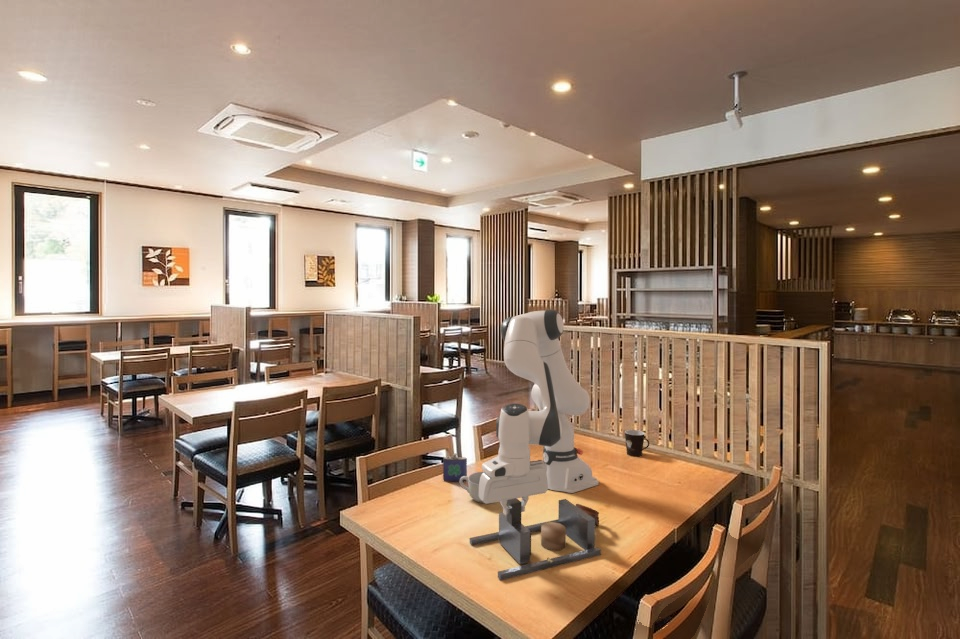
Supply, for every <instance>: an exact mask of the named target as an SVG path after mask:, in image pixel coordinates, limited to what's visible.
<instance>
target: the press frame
mask: <svg viewBox="0 0 960 639" xmlns="http://www.w3.org/2000/svg"><path fill="white" fill-rule="evenodd" d="M548 522H555V523H560V524H562V525H564V526H565V528H566V536H567V537H568V538H569V539H571V541H573V542H574V543H576V544H577V545H578V546H579V547H580V548H582V550H580V551H576V552H572V553H569V554H568V553H567V554H564V555H560V556H556V557H553V558H550V557H546V559H543V560H541V561H535V562H532V563H531V562H530V563H526V564H522V565H519V566H515V567H512V568H507V569H503V570H498V571H497V578H498V580H499V581H504V580H508V579H513V578H515V577H520V576H523V575H527V574H532V573H535V572H539V571H542V570H543V571H544V570H547V569H551V568H555V567H558V566H563V565H566V564H571V563H575V562H579V561H583V560H586V559H590V558H594V557H598V556H601V554H602V551H601V550H602V549H600V548H599V547H596V541H595V540H596V526H595V519H594V518H593V517H591V516H590V515H588V514H587V513H585V512H584V511H582V510H581V509H580V508H578V507H577V506H576V504H575V503H572V502H571V501H569V500H568V499H566V498H563V499H559V500H558V517H557V519H553V520H548V521H544V522H539V523H533V524H530V525H526V526H525V525H524V526H525V527H526V528H527V529H528V530H529V531H530V533H531V534H532V533H535V532H539V531H540V532H541V526H542V525H543V524H545V523H548ZM493 541H499V531H496V532H493V533H487V534H482V535H479V536H473V537H470V538H469V544H470V545H471V546H475V545H479V544H485V543H488V542H493Z"/></svg>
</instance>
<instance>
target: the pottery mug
mask: <svg viewBox="0 0 960 639" xmlns="http://www.w3.org/2000/svg"><path fill="white" fill-rule="evenodd" d="M575 506H577V507H578V508H580V509H581V510H582V511H584V512H585V513H587V514H588V515H590V516H591V517H593V518H594V519H595V528H596V527H599V525H600V519H599V518H600V517H599V514H600V512H598V511H597V510H595V509H593V508H591V507H589V506H585V505H582V504H579V503H576V504H575Z"/></svg>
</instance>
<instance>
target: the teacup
mask: <svg viewBox="0 0 960 639" xmlns="http://www.w3.org/2000/svg"><path fill="white" fill-rule="evenodd" d="M482 473H484V471H475V472H473V473H471V474H469V476H468V475H467V476H462V477H461V478H460V481H459V482H458V483H459V484H460V487H462V488H463V489H464V490H466V492H467V493H468V494H469V496H470V498H471V499H472V500H474V501H475V502H477V503H480V504H481V503H483V504H485V503H484V502H483V501H482V500H481V499H480V498H479V481H480V477H481V475H482ZM463 479H466V480H467V481H466V482H467V485H468V486H466V485H465V483H464V482H462V480H463Z"/></svg>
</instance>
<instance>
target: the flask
mask: <svg viewBox="0 0 960 639" xmlns="http://www.w3.org/2000/svg"><path fill="white" fill-rule="evenodd" d="M457 455H458V453H457V452H456V453H453V455H452V456H450V455H448V456H444V457H443V460H442V468H443V469H442V471H443V473H442V474H443V476H442V480H444V481H443V482H445V483H446V482H447V483H448V482H449V483H460V482H459V481H460V478H461V477H462V476H467V477H468V468H467V465H468V464H467V463H468V459H467V457H465V456H463V457H458V456H457ZM462 482H463V483H464V482H465V483H466V482H467V480H466V479H463V480H462Z"/></svg>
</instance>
